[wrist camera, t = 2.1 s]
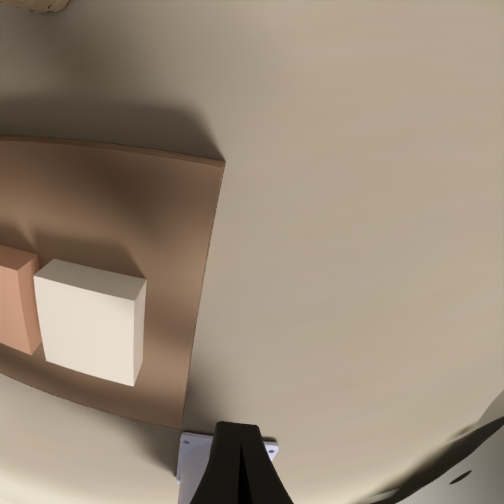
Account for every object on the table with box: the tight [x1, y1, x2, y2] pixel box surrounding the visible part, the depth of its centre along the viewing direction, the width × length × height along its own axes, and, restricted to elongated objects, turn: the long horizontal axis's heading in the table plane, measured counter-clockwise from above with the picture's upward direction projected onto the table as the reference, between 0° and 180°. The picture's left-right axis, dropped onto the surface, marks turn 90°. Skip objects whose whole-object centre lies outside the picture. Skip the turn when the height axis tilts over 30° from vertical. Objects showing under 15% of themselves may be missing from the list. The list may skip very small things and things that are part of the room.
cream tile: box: [33, 259, 147, 387], centre depth 14 cm, size 5×5×2 cm
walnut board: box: [0, 135, 226, 429], centre depth 16 cm, size 16×15×3 cm
